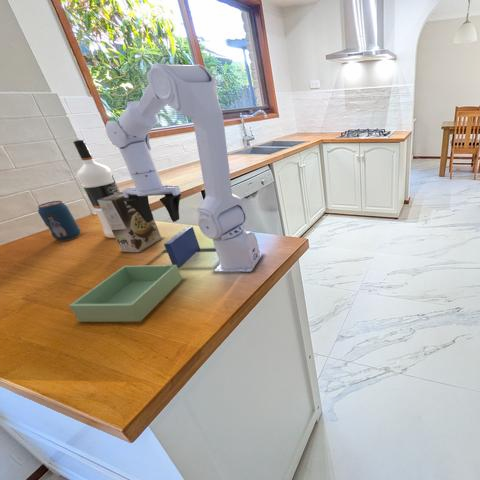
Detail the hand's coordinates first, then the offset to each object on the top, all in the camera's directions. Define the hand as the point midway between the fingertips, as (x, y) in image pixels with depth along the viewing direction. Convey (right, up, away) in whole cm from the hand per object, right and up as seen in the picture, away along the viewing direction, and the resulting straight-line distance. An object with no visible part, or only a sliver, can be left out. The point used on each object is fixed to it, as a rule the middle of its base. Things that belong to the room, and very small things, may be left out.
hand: (163, 220), depth 79 cm
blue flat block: (+7, -10, -1) cm, 12 cm away
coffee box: (-12, -7, +9) cm, 17 cm away
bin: (+4, -18, -15) cm, 24 cm away
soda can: (-43, -4, +18) cm, 47 cm away
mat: (+7, -10, -1) cm, 13 cm away
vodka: (-25, -3, +18) cm, 31 cm away
